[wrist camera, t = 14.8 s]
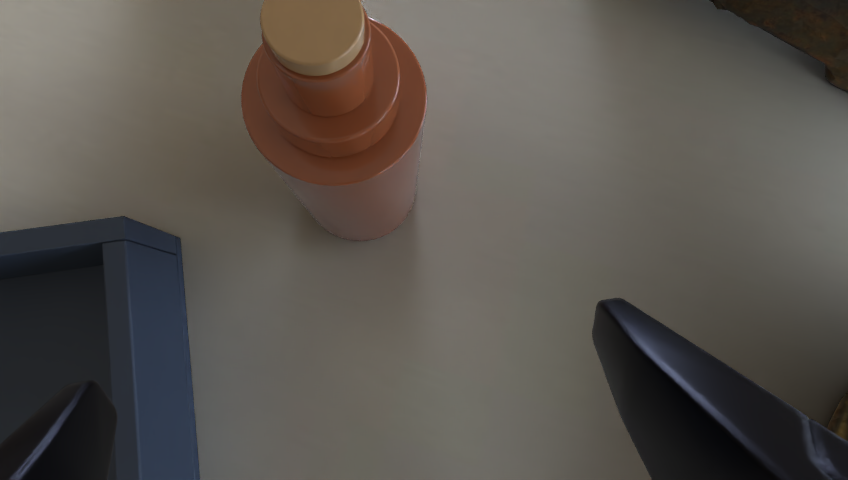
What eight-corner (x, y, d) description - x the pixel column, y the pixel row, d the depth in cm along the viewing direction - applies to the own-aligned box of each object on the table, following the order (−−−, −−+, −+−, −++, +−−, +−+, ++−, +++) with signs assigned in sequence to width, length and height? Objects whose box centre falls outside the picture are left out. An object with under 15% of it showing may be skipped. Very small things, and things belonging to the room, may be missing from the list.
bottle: (390, 258, 22) (377, 175, 10) (285, 215, 22) (139, 76, 10) (433, 158, 23) (473, -40, 10) (332, 116, 23) (252, -129, 10)
